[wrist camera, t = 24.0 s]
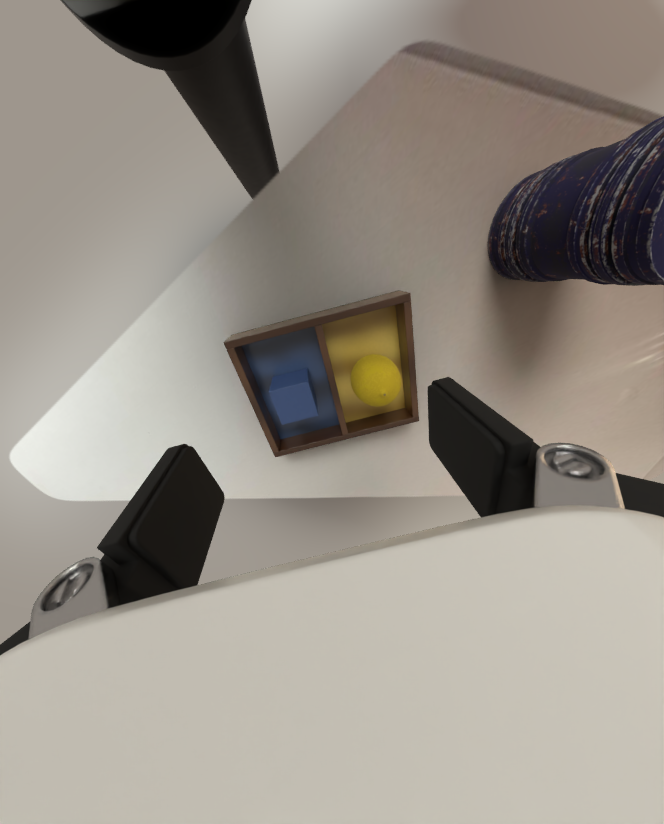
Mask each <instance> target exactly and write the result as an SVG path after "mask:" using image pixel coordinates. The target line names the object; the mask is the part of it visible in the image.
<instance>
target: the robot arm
mask: <svg viewBox="0 0 664 824" xmlns="http://www.w3.org/2000/svg"><path fill="white" fill-rule="evenodd" d="M428 419H429V443H430V446H431V448H432V450H433V451H434V453H435V454H436V455H437V457H438V458H439V460H440V461H441V462H442V464H443V465H444V467H445V468H446V469H447V471H448V472H449V474H450V475H451V476H452V478H453V479H454V480H455V482H456V483H457V485H458V486H459V487H460V489H461V490H462V492H463V493H464V494H465V496H466V497H467V499H468V500H469V501H470V503H471V504H472V505H473V507H474V508H475V510H476V511H477V512H478V514H479V515H480V516H481V518H477V519H472V520H468V521H463V522H458V523H454V524H449V525H445V526H441V527H436V528H432V529H428V530H423V531H420V532H415V533H411V534H407V535H402V536H398V537H394V538H390V539H386V540H381V541H377V542H373V543H369V544H364V545H360V546H356V547H352V548H348V549H344V550H340V551H335V552H331V553H327V554H323V555H319V556H315V557H310V558H307V559H303V560H298V561H294V562H290V563H286V564H282V565H278V566H274V567H270V568H265V569H261V570H257V571H253V572H249V573H245V574H241V575H237V576H233V577H229V578H225V579H221V580H217V581H213V582H209V583H205V584H201V585H197V584H198V581H199V578H200V575H201V572H202V569H203V566H204V562H205V559H206V556H207V553H208V550H209V547H210V544H211V541H212V537H213V534H214V531H215V528H216V525H217V521H218V518H219V515H220V512H221V509H222V506H223V503H224V493H223V491H222V490H221V488H220V487H219V485H218V484H217V482H216V481H215V479H214V478H213V476H212V475H211V473H210V472H209V470H208V469H207V467H206V466H205V464H204V463H203V461H202V460H201V458H200V457H199V455H198V454H197V452H196V451H195V449H194V448H193V447H191V446H188V445H187V444H182V445H178V446H174V447H171V448H168V449H167V450H166V452H165V453H164V455H163V456H162V457H161V459H160V460H159V462H158V463H157V464H156V466H155V467H154V469H153V470H152V471H151V473H150V474H149V476H148V477H147V478H146V480H145V481H144V483H143V484H142V485H141V487H140V488H139V489H138V491H137V492H136V494H135V495H134V496H133V498H132V499H131V501H130V502H129V503H128V505H127V506H126V508H125V509H124V510H123V512H122V513H121V515H120V516H119V517H118V519H117V520H116V522H115V523H114V524H113V526H112V527H111V529H110V530H109V531H108V533H107V534H106V536H105V537H104V538H103V540H102V541H101V543H100V544H99V545H98V547H97V548H98V549H99V550H100V551H101V552H103V553H104V556H103V557H102V559H101V560H99V559H98V558H95V557H90V558H86V559H83V560H81V561H78V562H76V563H75V564H73V565H71V566H70V567H68V568H67V569H66V570H64V571H63V572H61V573H60V574H59V575H58V576H56V577H55V579H53V580H52V581H51V582H50V583H49V584H48V585H47V586H46V588H45V589H44V590H43V591H42V592H41V593H40V595H39V597H38V598H37V600H36V601H35V603H34V606H33V609H32V613H31V621H30V622H29V623H28V624H26V625H25V626H24V627H23V628H21V629H20V630H19V631H18V632H16V633H15V634H14V635H12V636H11V637H10V638H8V639H7V640H6V641H4V642H3V643H2V644H1V645H0V824H664V484H661V483H657V482H653V481H648V480H644V479H640V478H635V477H631V476H626V475H622V474H617V473H615V470H614V468H613V466H612V464H611V462H610V461H608V460H607V459H606V458H605V457H604V456H602V455H601V454H599V453H597V452H595V451H594V450H591V449H588V448H586V447H583V446H579V445H574V444H569V443H551V444H547V445H544V446H542V447H540V446H538V445H537V444H536V443H534V442H533V439H532V438H530V437H529V436H527V435H526V434H525V433H523V432H522V431H521V430H519V429H518V428H517V427H515V426H514V425H513V424H511V423H510V422H509V421H507V420H506V419H505V418H503V417H502V416H501V415H499V414H498V413H497V412H495V411H494V410H493V409H491V408H490V407H489V406H487V405H486V404H485V403H483V402H482V401H481V400H479V399H478V398H477V397H475V396H474V395H473V394H471V393H470V392H469V391H467V390H466V389H465V388H463V387H462V386H461V385H459V384H458V383H457V382H455V381H454V380H453V379H451V378H450V377H446V378H443V379H439V380H435V381H433V382H432V385H430V386H428Z"/></svg>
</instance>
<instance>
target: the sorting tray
mask: <svg viewBox="0 0 664 824" xmlns="http://www.w3.org/2000/svg"><path fill="white" fill-rule="evenodd" d="M224 345H225V347H226V349H227V352H228V354H229V356H230V358H231V360H232V363H233V365H234V367H235V369H236V371H237V374H238V376H239V378H240V380H241V383H242V385H243V387H244V389H245V391H246V394H247V396H248V398H249V400H250V402H251V405H252V407H253V409H254V411H255V414H256V416H257V418H258V420H259V422H260V425H261V427H262V429H263V431H264V433H265V436H266V438H267V440H268V442H269V444H270V447H271V449H272V451H273V453H274V456H275V457H278V456H282V455H286V454H290V453H294V452H298V451H302V450H306V449H310V448H314V447H318V446H322V445H326V444H330V443H334V442H338V441H341V440H345V439H349V438H353V437H357V436H361V435H365V434H369V433H373V432H377V431H381V430H385V429H389V428H393V427H397V426H401V425H405V424H409V423H412V422H416V421H419V415H418V400H417V385H416V370H415V355H414V340H413V325H412V310H411V295H410V293H408V292H403V291H395V292H391V293H387V294H384V295H380V296H376V297H372V298H369V299H365V300H361V301H357V302H354V303H350V304H346V305H342V306H339V307H335V308H331V309H327V310H324V311H320V312H316V313H312V314H309V315H305V316H301V317H297V318H293V319H290V320H286V321H282V322H278V323H275V324H271V325H267V326H263V327H260V328H256V329H252V330H248V331H245V332H241V333H237V334H233V335H231V336H230V337H229V338H228V339H227V340H226V341H225V342H224ZM371 354H378V355H382V356H385V357H387V358H388V359H390V360H391V361H393V363H394V364H395V365H396V366H397V368H398V370H399V373H400V375H401V389H400V392H399V394H398V396H397V397H396V398H395V399H394V400H393V401H392V402H391V403H389V404H387V405H384V406H379V407H375V406H370V405H368V404H365V403H364V402H362V401H361V400H360V399H359V398H358V397H357V396H356V394H355V393H354V391H353V389H352V386H351V379H350V377H351V371H352V369H353V367H354V365H355V364H356V363H357V361H359V360H360V359H361V358H363V357H365V356H367V355H371ZM305 368H308V372H309V375H310V378H311V382H312V385H313V388H314V392H315V395H316V399H317V407H318V416H315V417H311V418H307V419H303V420H299V421H295V422H291V423H287V424H284V425H282V424H281V421H280V419H279V416H278V414H277V411H276V409H275V406H274V404H273V401H272V399H271V396H270V394H269V389H270V385H271V382H272V378H273V377H274V376H278V375H282V374H286V373H290V372H293V371H297V370H301V369H305Z"/></svg>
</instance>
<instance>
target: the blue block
mask: <svg viewBox="0 0 664 824" xmlns="http://www.w3.org/2000/svg"><path fill="white" fill-rule="evenodd" d="M269 394H270V396H271V399H272V401H273V404H274V406H275V409H276V411H277V414H278V416H279V419H280V421H281V424H282V425H284V424H287V423H291V422H295V421H299V420H303V419H307V418H311V417H315V416H318V407H317V399H316V395H315V392H314V388H313V385H312V382H311V378H310V375H309V372H308V368H305V369H301V370H297V371H293V372H290V373H286V374H282V375H278V376H274V377H273V378H272V382H271V385H270V389H269Z"/></svg>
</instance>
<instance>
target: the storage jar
mask: <svg viewBox="0 0 664 824" xmlns="http://www.w3.org/2000/svg"><path fill="white" fill-rule="evenodd" d="M488 253H489V258H490V261H491V264H492V266H493V267H494V269H495V270H496V271H497V272H498V274H500V275H501V276H503V277H505V278H508V279H513V280H525V281H532V282H546V281H562V280H567V279H585V280H587V281H590V282H595V283H598V284H616V285H632V286H635V285H664V117H661V118H659V119H656V120H655V121H653V122H651V123H650V124H648V125H646V126H645V127H643V128H641V129H640V130H638V131H636V132H635V133H633V134H631V135H630V136H629V137H628V138H626V139H624V140H622V141H619V142H617V143H614V144H612V145H609V146H607V147H599V148H594V149H590V150H588V151H585V152H582V153H580V154H577V155H573V156H571V157H568V158H566V159H563V160H561V161H559V162H556V163H554V164H552V165H551V166H549V167H547V168H546V169H544V170H541V171H539V172H536V173H534V174H532V175H530V176H528V177H526V178H525V179H523V180H522V181H521V182H519V183H518V184H517V185H516V186H515V187H514V188H513V189H512V190H511V191H510V192H509V193H508V194H507V196H506V197H505V198H504V200H503V201H502V203H501V204H500V206H499V208H498V210H497V212H496V214H495V216H494V218H493V221H492V224H491V227H490V232H489V237H488Z"/></svg>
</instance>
